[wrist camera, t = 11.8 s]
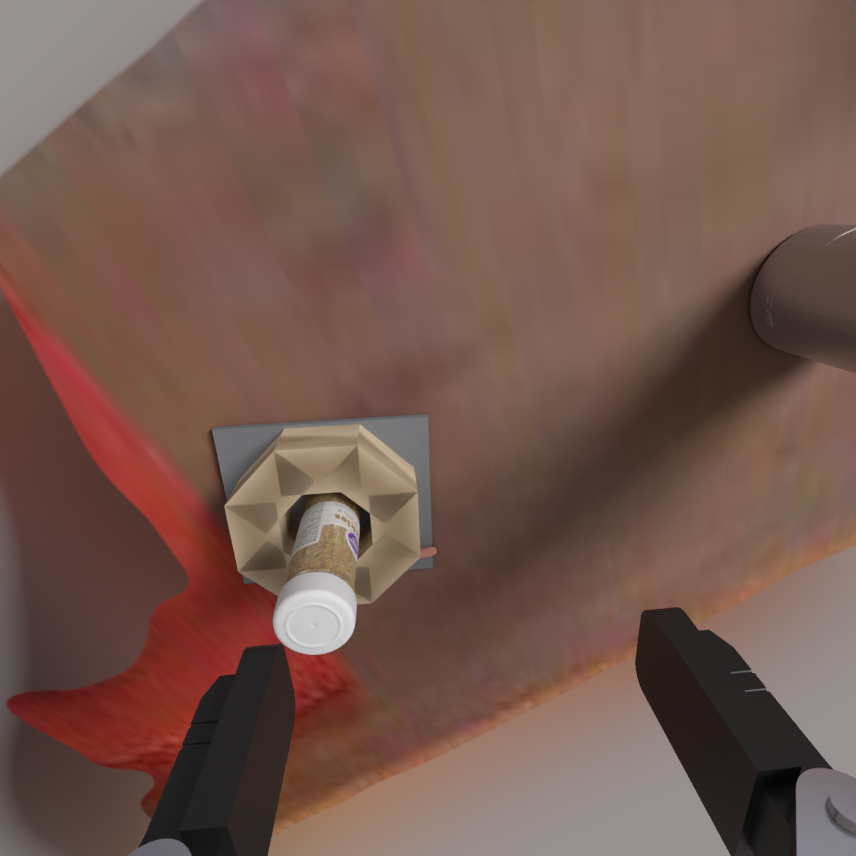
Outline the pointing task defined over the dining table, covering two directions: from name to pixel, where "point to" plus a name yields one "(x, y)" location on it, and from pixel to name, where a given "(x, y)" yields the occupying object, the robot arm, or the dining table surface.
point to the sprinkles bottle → (321, 577)
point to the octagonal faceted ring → (326, 473)
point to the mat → (397, 432)
